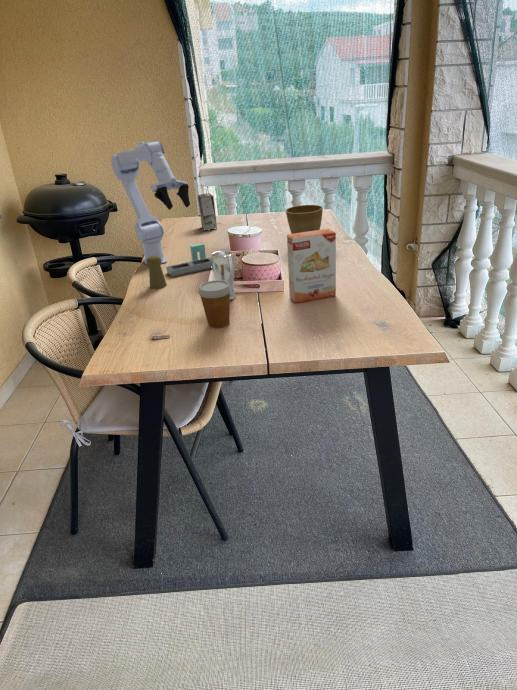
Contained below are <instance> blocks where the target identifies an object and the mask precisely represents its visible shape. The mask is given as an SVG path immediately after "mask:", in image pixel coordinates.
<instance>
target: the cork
mask: <svg viewBox="0 0 517 690" xmlns="http://www.w3.org/2000/svg"><path fill="white" fill-rule="evenodd" d="M146 262H147V264H146V266H148V272H149V274H148V275H149V288H150V289H153V290H159V288H160V289H163V288H166V287H167V282H166V278H165V274H164V272H163V269H162V263H161V258H160V257H159V256H150V257H148V258H147V261H146Z"/></svg>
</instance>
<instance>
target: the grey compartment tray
mask: <svg viewBox="0 0 517 690" xmlns="http://www.w3.org/2000/svg"><path fill="white" fill-rule="evenodd" d="M211 266H212V257H206V258H205V259H200V258H199V259H198V260H196V261H187V262H183V263H178V264H173V265H169V266H166V273H167V274H168V275H169V276H170V277H171V278H174V277H175V278H176V277H180V276H184V275H188V274H193V273H197V272H201V271H206V270H211V269H212V268H211ZM210 268H211V269H210Z"/></svg>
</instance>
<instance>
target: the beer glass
mask: <svg viewBox="0 0 517 690" xmlns="http://www.w3.org/2000/svg"><path fill="white" fill-rule="evenodd" d="M211 258H212V268H211V269H212V274H213V277H214V281H215V280H222V281H226V282H228V283H229V285H230V287H231V291H230V301H232V300H234V299H235V298H236V296H237V295H236V292H235V288H234V287H235V286H234V280H235V277H234V276H235V264H234V258H233V253H232V251H230V250H219V251H218V250H217V251H215V252H213V253H211Z"/></svg>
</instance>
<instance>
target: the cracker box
mask: <svg viewBox="0 0 517 690" xmlns="http://www.w3.org/2000/svg"><path fill="white" fill-rule="evenodd" d="M336 240H337V233H336V231H334V230H331V229H330V228H324V229H320V230H315V231H308V232H301V233H294V234H291V233H289V234H286V241H287V264H288V265H287V266H288V286H289V287H288V289H289V298H290V299H291V300H292V301H293V302H294V303H295V304H297V303H303V302H309V301H314V300H321V299H326V298H332V297H335V296H336V295H337V294H336V293H337V291H336V290H337V284H336V283H337V280H336V279H337V277H336V276H337V271H336V270H337V267H336V266H337V261H336V260H337V258H336V257H337V244H336V243H337V241H336Z"/></svg>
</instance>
